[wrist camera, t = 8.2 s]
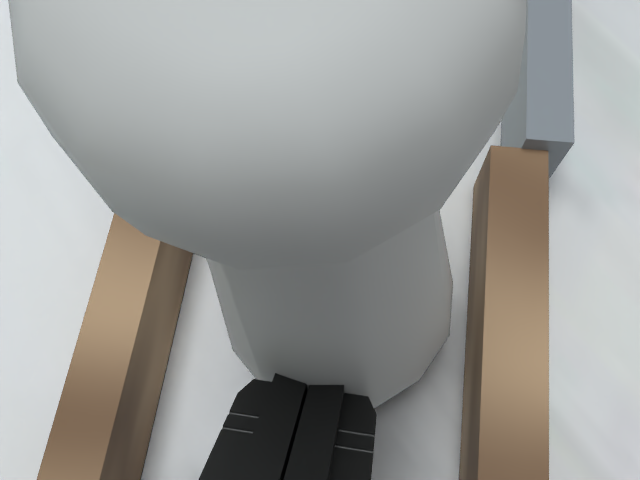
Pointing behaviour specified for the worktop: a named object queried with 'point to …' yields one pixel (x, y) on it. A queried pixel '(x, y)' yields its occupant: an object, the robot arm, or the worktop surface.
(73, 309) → the worktop surface
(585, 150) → the worktop surface
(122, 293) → the slot rails
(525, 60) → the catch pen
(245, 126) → the salt shaker
